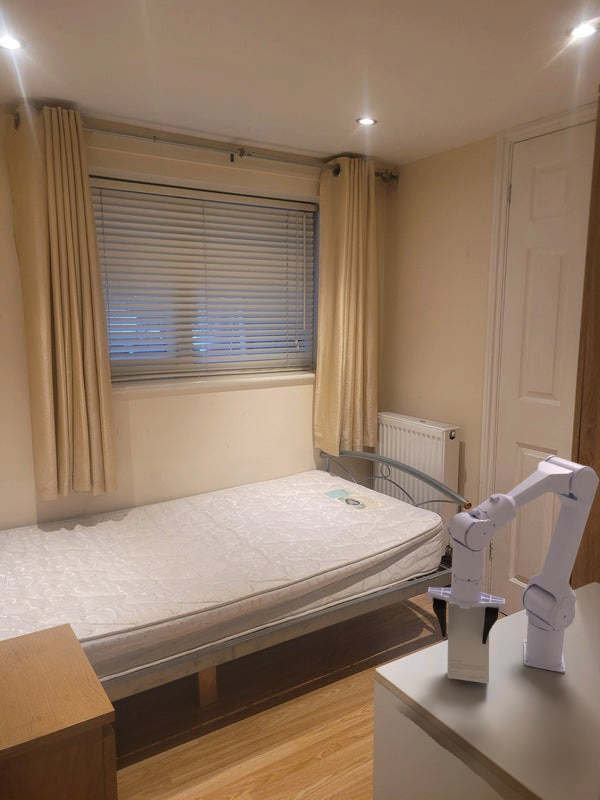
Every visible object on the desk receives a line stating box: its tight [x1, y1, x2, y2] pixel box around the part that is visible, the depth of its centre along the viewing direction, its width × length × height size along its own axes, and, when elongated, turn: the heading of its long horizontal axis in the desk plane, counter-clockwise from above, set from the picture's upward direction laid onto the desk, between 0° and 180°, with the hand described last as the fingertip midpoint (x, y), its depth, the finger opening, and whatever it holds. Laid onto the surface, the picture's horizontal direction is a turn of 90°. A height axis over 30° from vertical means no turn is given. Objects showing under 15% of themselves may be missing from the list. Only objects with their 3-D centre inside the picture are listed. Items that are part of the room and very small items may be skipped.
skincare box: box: [447, 602, 490, 684], centre depth 119 cm, size 8×6×15 cm
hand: (463, 637), depth 116 cm, fingers open, 7 cm apart
